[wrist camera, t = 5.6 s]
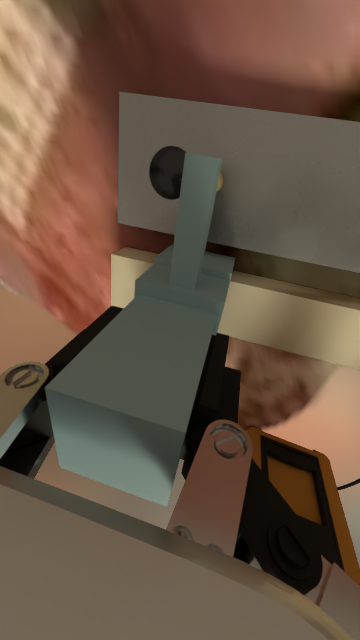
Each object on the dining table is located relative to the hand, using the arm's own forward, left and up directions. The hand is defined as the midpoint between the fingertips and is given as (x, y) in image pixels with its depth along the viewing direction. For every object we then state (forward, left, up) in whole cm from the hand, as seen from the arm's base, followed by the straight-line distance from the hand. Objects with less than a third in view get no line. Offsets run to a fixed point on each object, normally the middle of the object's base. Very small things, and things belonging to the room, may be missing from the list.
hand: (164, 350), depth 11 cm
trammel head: (0, -2, -7) cm, 7 cm away
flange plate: (-7, -6, -7) cm, 12 cm away
